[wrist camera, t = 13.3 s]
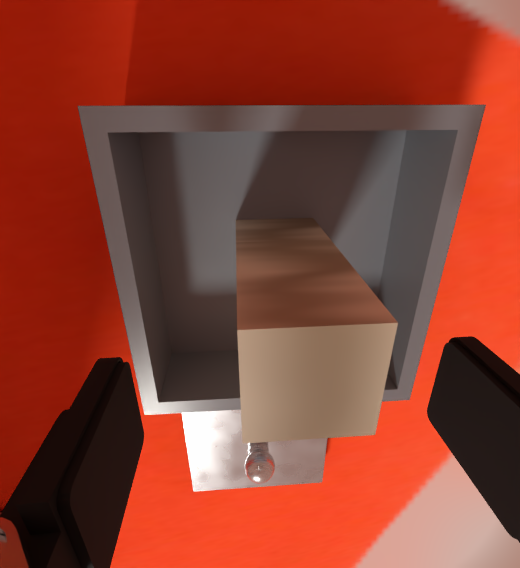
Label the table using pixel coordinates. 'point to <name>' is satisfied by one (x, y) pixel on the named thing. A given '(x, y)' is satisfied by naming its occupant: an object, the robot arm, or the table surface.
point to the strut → (306, 336)
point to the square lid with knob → (246, 455)
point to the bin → (268, 205)
